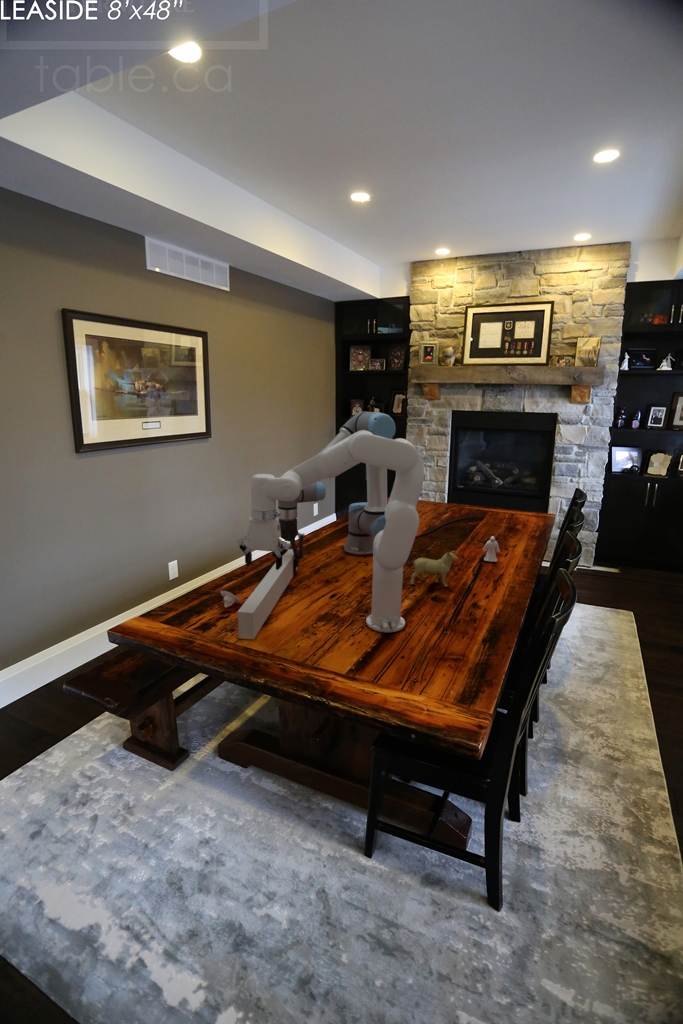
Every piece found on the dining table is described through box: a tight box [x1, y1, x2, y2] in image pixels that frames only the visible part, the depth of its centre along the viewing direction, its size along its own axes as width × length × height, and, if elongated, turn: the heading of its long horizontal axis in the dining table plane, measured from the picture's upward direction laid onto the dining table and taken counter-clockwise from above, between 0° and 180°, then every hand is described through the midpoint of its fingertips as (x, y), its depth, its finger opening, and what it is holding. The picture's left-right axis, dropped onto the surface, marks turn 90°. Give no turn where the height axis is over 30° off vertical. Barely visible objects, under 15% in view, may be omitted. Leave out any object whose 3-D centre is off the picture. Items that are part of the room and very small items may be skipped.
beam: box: [237, 548, 298, 640], centre depth 180 cm, size 61×5×9 cm, turn 172°
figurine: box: [482, 535, 501, 563], centre depth 223 cm, size 8×8×12 cm
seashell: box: [219, 590, 242, 609], centre depth 173 cm, size 8×5×8 cm
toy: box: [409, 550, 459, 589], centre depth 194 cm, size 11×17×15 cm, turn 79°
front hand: (263, 566), depth 158 cm, fingers open, 9 cm apart
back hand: (288, 573), depth 203 cm, fingers open, 5 cm apart
